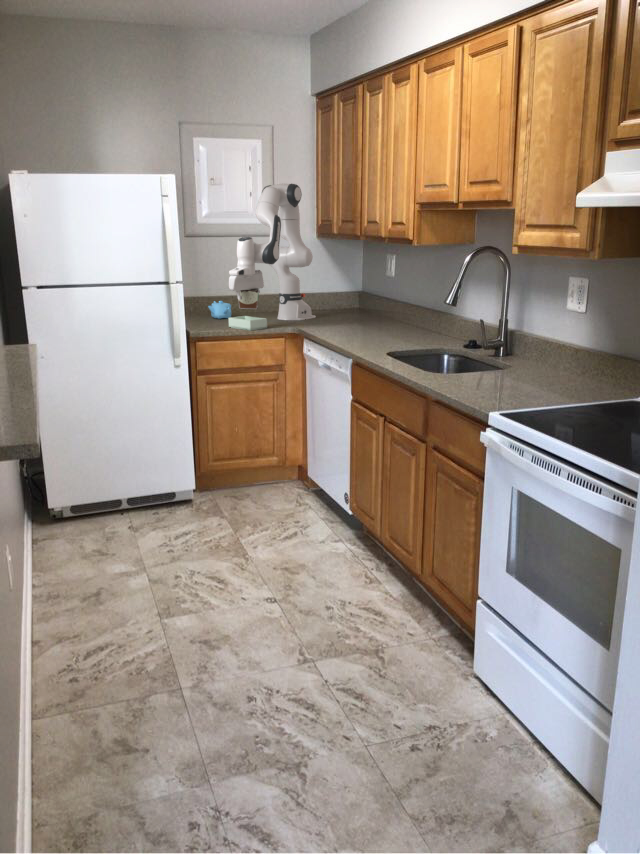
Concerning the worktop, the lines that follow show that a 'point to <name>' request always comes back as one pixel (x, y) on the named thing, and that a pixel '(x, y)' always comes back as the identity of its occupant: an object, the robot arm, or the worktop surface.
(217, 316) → the teapot
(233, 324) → the crate
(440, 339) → the worktop surface
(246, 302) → the food container
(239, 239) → the robot arm
